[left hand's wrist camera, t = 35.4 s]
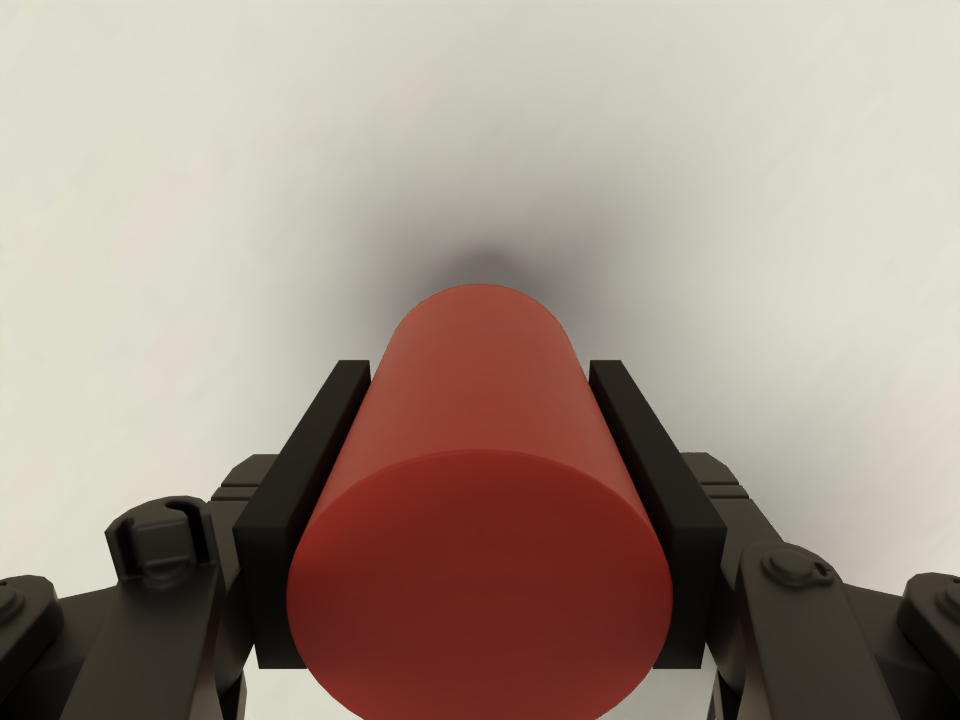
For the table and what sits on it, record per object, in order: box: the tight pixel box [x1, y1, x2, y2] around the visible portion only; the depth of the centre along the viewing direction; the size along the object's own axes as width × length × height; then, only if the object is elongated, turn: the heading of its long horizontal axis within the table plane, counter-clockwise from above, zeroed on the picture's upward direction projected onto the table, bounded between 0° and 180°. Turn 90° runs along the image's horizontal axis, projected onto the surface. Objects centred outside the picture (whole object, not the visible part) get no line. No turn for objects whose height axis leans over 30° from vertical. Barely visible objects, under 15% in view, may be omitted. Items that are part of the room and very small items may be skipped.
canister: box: [286, 284, 673, 720], centre depth 12 cm, size 6×6×9 cm
